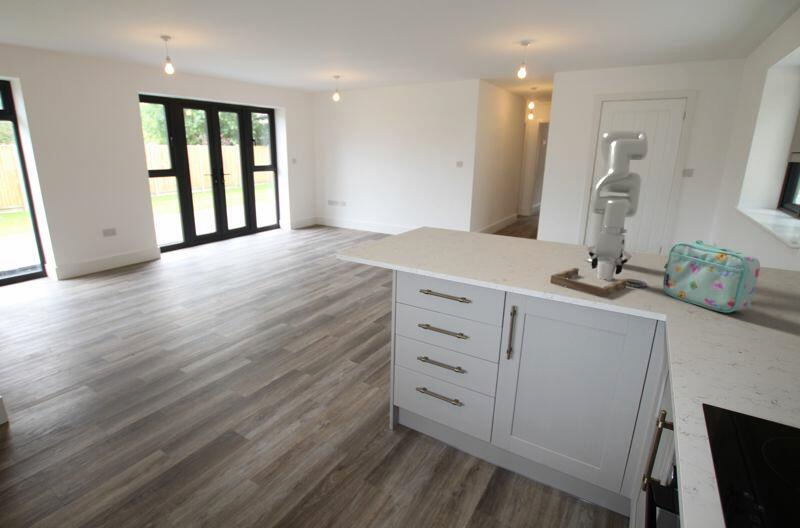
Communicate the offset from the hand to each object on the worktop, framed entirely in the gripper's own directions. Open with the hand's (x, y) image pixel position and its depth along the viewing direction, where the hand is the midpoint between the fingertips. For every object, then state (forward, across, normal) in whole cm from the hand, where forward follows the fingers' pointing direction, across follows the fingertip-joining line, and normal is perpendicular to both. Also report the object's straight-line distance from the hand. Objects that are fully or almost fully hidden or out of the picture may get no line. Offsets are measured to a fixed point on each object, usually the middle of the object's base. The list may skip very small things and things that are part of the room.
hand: (605, 270), depth 169 cm
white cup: (+3, 0, 0) cm, 3 cm away
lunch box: (+3, -34, +2) cm, 34 cm away
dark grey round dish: (+3, -11, -1) cm, 12 cm away
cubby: (+3, 0, +14) cm, 15 cm away
